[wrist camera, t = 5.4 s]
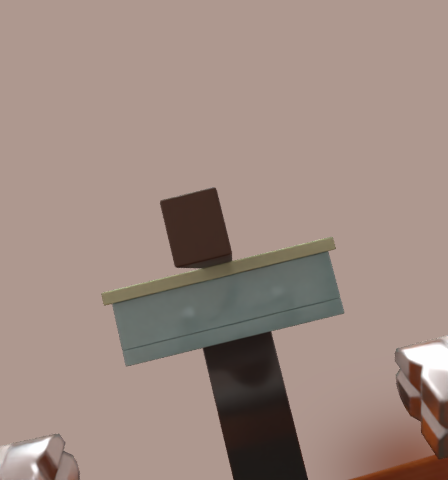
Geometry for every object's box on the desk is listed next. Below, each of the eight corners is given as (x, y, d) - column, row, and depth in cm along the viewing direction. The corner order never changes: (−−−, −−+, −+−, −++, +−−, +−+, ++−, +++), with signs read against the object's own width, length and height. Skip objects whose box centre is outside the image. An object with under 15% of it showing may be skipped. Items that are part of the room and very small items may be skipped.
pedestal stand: (371, 543, 35) (297, 256, 37) (444, 688, 23) (328, 251, 25) (216, 581, 35) (151, 292, 37) (208, 745, 23) (111, 303, 25)
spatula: (300, 255, 37) (291, 223, 37) (423, 231, 13) (397, 141, 13) (147, 293, 37) (140, 260, 37) (-5, 336, 13) (-22, 244, 14)
